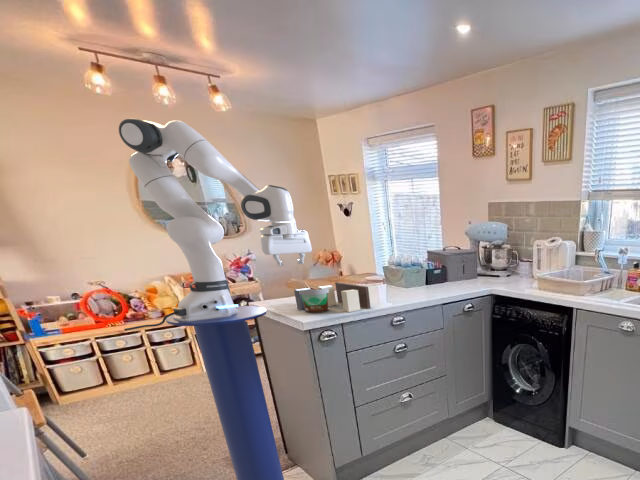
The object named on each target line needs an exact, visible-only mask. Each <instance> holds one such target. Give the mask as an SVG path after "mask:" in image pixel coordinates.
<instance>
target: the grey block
mask: <svg viewBox="0 0 640 480" xmlns="http://www.w3.org/2000/svg"><path fill="white" fill-rule="evenodd" d="M300 289H301V290H312V288H309V287H308V288H307V287H306V288H298V289H297V288H296V289H293V291H294V292H293V293H294V298H295V303H296V308H297V310H300V311H306V310H305V306H304V303H303V299H302V296H301V294H299V291H300Z"/></svg>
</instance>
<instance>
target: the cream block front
mask: <svg viewBox="0 0 640 480" xmlns="http://www.w3.org/2000/svg"><path fill="white" fill-rule="evenodd" d="M341 294H342V301H343V303H342V309H343V311H344V312H347V313H350V312H351V313H352V312H356V311H357V312H358V311H361V307H360V303H359V295H358V290H353V289H352V290H345V291H341Z"/></svg>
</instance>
